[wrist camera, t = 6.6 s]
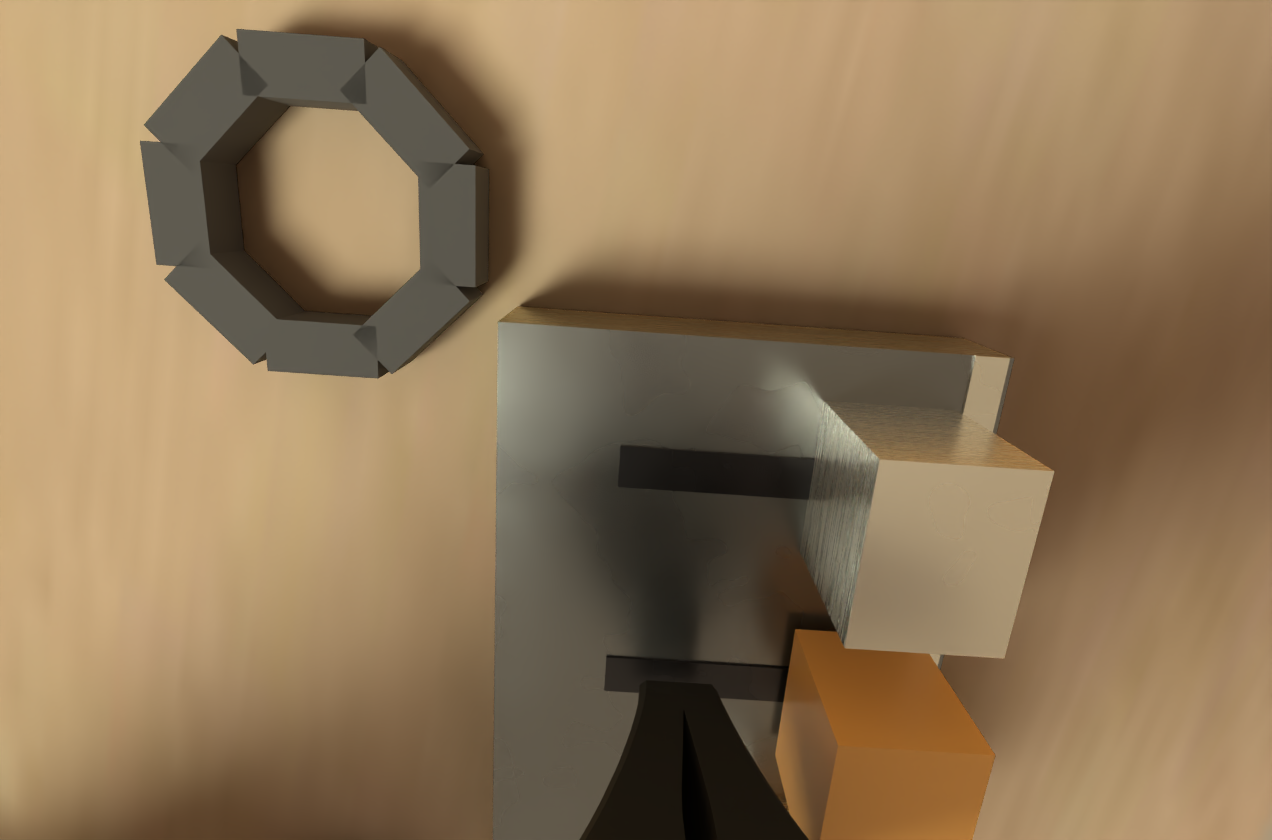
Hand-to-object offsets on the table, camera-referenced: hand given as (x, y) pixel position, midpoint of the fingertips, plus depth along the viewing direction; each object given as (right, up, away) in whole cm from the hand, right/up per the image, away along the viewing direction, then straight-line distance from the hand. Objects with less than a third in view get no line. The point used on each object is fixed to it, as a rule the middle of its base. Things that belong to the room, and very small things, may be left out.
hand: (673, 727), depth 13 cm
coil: (-6, +10, +1) cm, 12 cm away
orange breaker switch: (+3, 0, +1) cm, 4 cm away
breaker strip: (+1, +1, +3) cm, 3 cm away
